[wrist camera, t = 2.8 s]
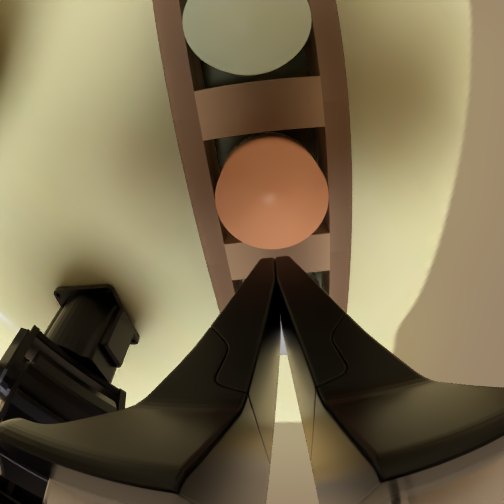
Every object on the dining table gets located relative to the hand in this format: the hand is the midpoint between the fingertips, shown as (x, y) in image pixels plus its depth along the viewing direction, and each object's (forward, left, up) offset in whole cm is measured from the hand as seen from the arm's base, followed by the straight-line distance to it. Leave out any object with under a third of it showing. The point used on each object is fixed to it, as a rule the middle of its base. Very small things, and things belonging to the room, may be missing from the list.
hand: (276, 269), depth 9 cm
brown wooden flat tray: (0, 0, -10) cm, 10 cm away
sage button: (0, +8, -8) cm, 11 cm away
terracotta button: (0, 0, -8) cm, 8 cm away
